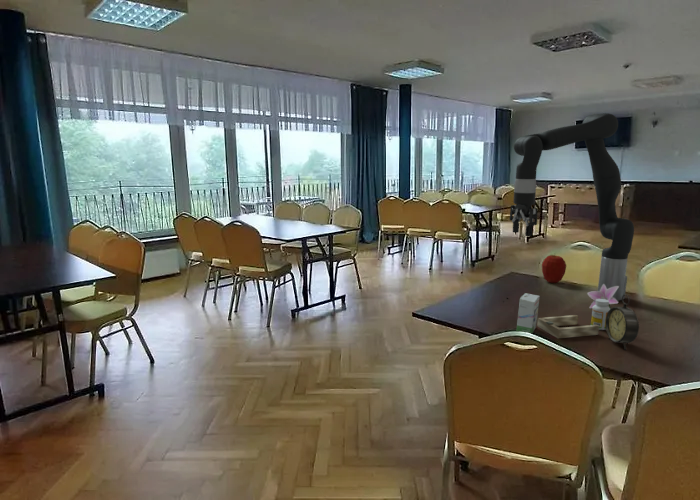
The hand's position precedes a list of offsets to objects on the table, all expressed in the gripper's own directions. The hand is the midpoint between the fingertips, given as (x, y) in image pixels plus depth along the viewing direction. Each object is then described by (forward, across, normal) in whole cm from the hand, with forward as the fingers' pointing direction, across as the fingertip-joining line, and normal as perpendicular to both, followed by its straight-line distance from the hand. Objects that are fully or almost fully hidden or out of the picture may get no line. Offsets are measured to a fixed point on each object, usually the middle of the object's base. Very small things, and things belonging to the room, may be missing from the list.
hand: (521, 234), depth 175 cm
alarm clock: (+29, -41, -11) cm, 51 cm away
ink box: (+29, -24, +11) cm, 39 cm away
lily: (+29, -11, -30) cm, 43 cm away
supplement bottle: (+29, -27, -15) cm, 42 cm away
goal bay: (+28, -27, -2) cm, 39 cm away
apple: (+29, +27, -35) cm, 53 cm away
